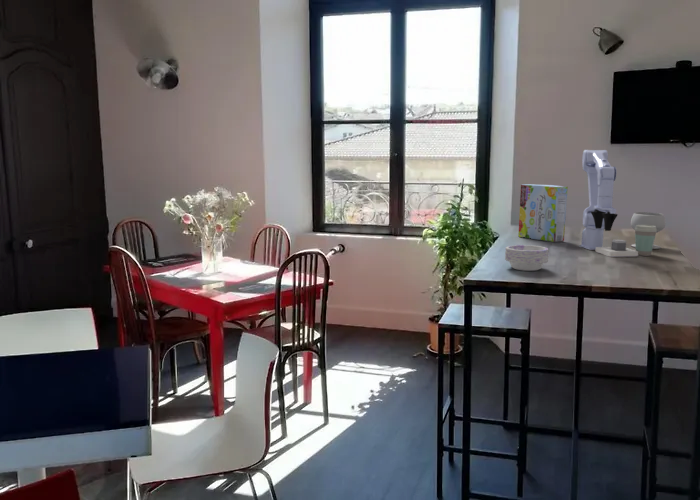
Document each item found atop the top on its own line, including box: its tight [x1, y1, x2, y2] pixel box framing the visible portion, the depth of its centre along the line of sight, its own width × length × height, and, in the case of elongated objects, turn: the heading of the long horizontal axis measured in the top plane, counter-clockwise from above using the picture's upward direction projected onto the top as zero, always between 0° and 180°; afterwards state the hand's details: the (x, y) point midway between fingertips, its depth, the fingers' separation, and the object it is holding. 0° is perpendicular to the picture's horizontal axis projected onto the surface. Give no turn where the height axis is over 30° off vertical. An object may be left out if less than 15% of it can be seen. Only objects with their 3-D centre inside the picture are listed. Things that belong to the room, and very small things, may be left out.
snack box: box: [518, 183, 568, 243], centre depth 306 cm, size 22×9×26 cm, turn 34°
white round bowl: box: [504, 244, 549, 272], centre depth 237 cm, size 15×15×8 cm
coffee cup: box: [634, 225, 658, 257], centre depth 267 cm, size 8×8×12 cm
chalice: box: [630, 211, 667, 250], centre depth 285 cm, size 14×14×15 cm
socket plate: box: [595, 246, 639, 258], centre depth 269 cm, size 12×12×2 cm
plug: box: [610, 239, 627, 251], centre depth 267 cm, size 4×4×6 cm
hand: (602, 229), depth 266 cm, fingers open, 7 cm apart
